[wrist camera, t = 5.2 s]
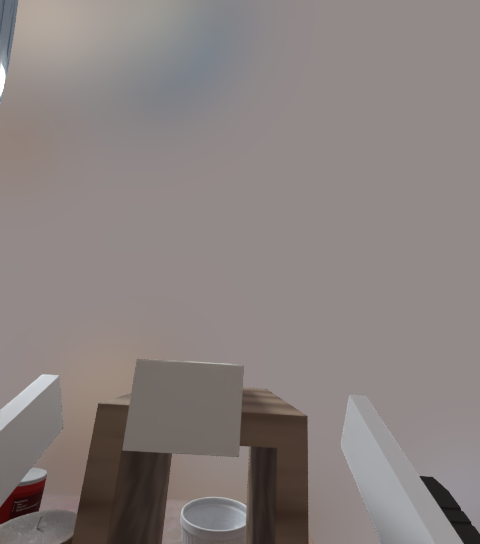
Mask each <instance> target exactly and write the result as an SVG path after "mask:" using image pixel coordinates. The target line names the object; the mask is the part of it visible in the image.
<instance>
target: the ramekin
mask: <svg viewBox="0 0 480 544" xmlns="http://www.w3.org/2000/svg"><path fill="white" fill-rule="evenodd" d="M246 507H247V506H246V505H244V504H242V503H240V502H238V501H235V500H232V499H228V498H222V497H205V498H200V499H196V500H193V501H191V502H189V503H187V504H186V505H185V506H184V507H183V509H182V511H181V517H180V523H181V544H245V529H246Z"/></svg>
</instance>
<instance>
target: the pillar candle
mask: <svg viewBox="0 0 480 544" xmlns="http://www.w3.org/2000/svg"><path fill="white" fill-rule="evenodd" d="M76 518H77V514H75V513H73V512H69V511H66V510H47V511H39V512H33V513H30V514H26V515H23V516H20V517H17V518H14V519H11V520H9V521H7V522H5V523H3V524H1V525H0V544H72V539H73V534H74V528H75V523H76Z"/></svg>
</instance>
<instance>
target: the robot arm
mask: <svg viewBox="0 0 480 544" xmlns="http://www.w3.org/2000/svg"><path fill="white" fill-rule="evenodd" d="M17 5H18V0H0V101H1V94H2V90H3V86H4V80H5V77H6V74H7V69H8V65H9V59H10V53H11V47H12V41H13V35H14V27H15V21H16V13H17ZM62 429H63V416H62V403H61V389H60V376H58V375H44V374H42V375H41V376H40V377H39V378H38V379H36V380H35V381H34V382H33V383H32V384H30V385H29V386H28V387H27V388H26V389H25V390H24V391H22V392H21V393H20V394H19V395H18V396H17V397H15V398H14V399H13V400H12V401H10V402H9V403H8V404H7V405H6V406H5V407H3V408H2V409H1V410H0V507H1V505H2V504H3V503H4V502H5V500H6V499H7V498H8V497H9V495H10V494H11V493H12V492H13V490H14V489H15V488H16V487H17V485H18V484H19V483H20V482H21V480H22V479H23V478H24V477H25V475H26V474H27V473H28V472H29V470H30V469H31V468H32V466H33V465H34V464H35V463H36V462H37V460H38V459H39V458H40V457H41V455H42V454H43V453H44V451H45V450H46V449H47V448H48V446H49V445H50V444H51V443H52V441H53V440H54V439H55V438H56V436H57V435H58V434H59V433H60V431H61V430H62ZM341 448H342V450H343V453H344V455H345V458H346V460H347V462H348V465H349V467H350V470H351V472H352V474H353V477H354V479H355V482H356V484H357V487H358V489H359V491H360V494H361V496H362V499H363V501H364V503H365V506H366V508H367V511H368V513H369V515H370V518H371V520H372V522H373V525H374V527H375V530H376V532H377V535H378V537H379V539H380V542H381V544H480V534H479V533H478V531H477V530H476V528H475V527H474V526H472V524H471V521H470V520H469V519H468V517H467V516H466V515H465V513H464V512H463V511H461V508H460V506H459V505H458V504H457V502H456V501H455V500H454V498H453V497H452V496H451V494H450V493H449V491H448V490H447V489H445V488H444V487H443V486H442V485H441V484H440V483H439V482H438V481H437V480H435V479H434V478H433V477H425V476H419V475H418V474H417V472H416V471H415V469H414V468H413V466H412V465H411V463H410V462H409V460H408V458H407V457H406V455H405V454H404V452H403V451H402V449H401V448H400V447H399V445H398V443H397V442H396V440H395V439H394V437H393V436H392V434H391V433H390V431H389V430H388V428H387V427H386V426H385V424H384V422H383V421H382V419H381V418H380V416H379V415H378V413H377V412H376V410H375V409H374V407H373V405H372V404H371V402H370V401H369V399H368V398H367V396H364V395H349V400H348V405H347V411H346V416H345V422H344V429H343V434H342V439H341Z"/></svg>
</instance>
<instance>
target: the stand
mask: <svg viewBox="0 0 480 544" xmlns="http://www.w3.org/2000/svg"><path fill="white" fill-rule="evenodd" d="M130 398H131V393H130V394H127V395H124V396H121V397H117V398H114V399H111V400H108V401H104V402H101V403H99V404H98V408H97V413H96V419H95V424H94V429H93V434H92V440H91V445H90V450H89V455H88V460H87V466H86V472H85V476H84V482H83V487H82V492H81V497H80V502H79V508H78V513H77V518H76V523H75V528H74V534H73V539H72V544H162V535H163V526H164V518H165V509H166V500H167V492H168V483H169V474H170V466H171V457H172V453H158V452H141V451H123V450H122V448H123V442H124V436H125V430H126V423H127V417H128V411H129V405H130ZM307 434H308V433H307V416H306V415H305V414H303V413H302V412H300V411H299V410H297V409H296V408H294V407H293V406H291V405H290V404H288V403H287V402H285V401H283V400H282V399H280V398H279V397H278V396H276V395H274V394H273V393H272V392H270V391H268V390H267V389H258V388H243V392H242V410H241V428H240V446H249V463H248V464H249V465H248V485H247V486H248V487H247V507H246V529H245V544H308V444H307V443H308V440H307V438H308V437H307Z"/></svg>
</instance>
